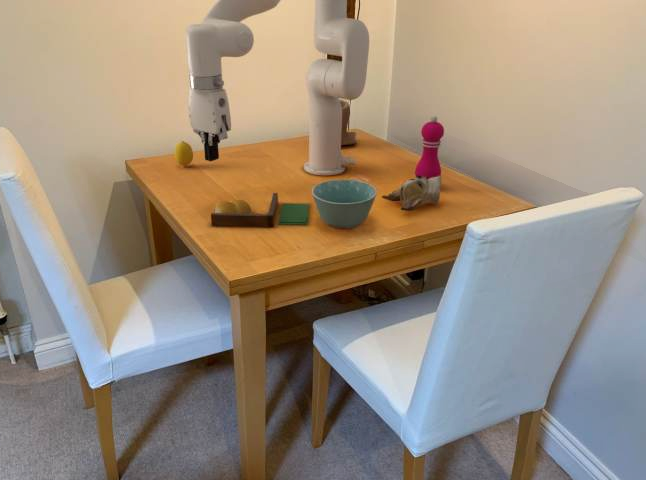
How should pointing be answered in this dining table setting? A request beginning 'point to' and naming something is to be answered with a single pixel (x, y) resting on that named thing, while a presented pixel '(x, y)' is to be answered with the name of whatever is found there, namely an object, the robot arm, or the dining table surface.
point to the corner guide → (247, 217)
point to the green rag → (293, 214)
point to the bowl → (343, 202)
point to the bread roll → (233, 207)
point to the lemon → (183, 153)
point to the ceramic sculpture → (417, 192)
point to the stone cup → (346, 136)
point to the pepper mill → (430, 150)
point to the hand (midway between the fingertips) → (212, 159)
